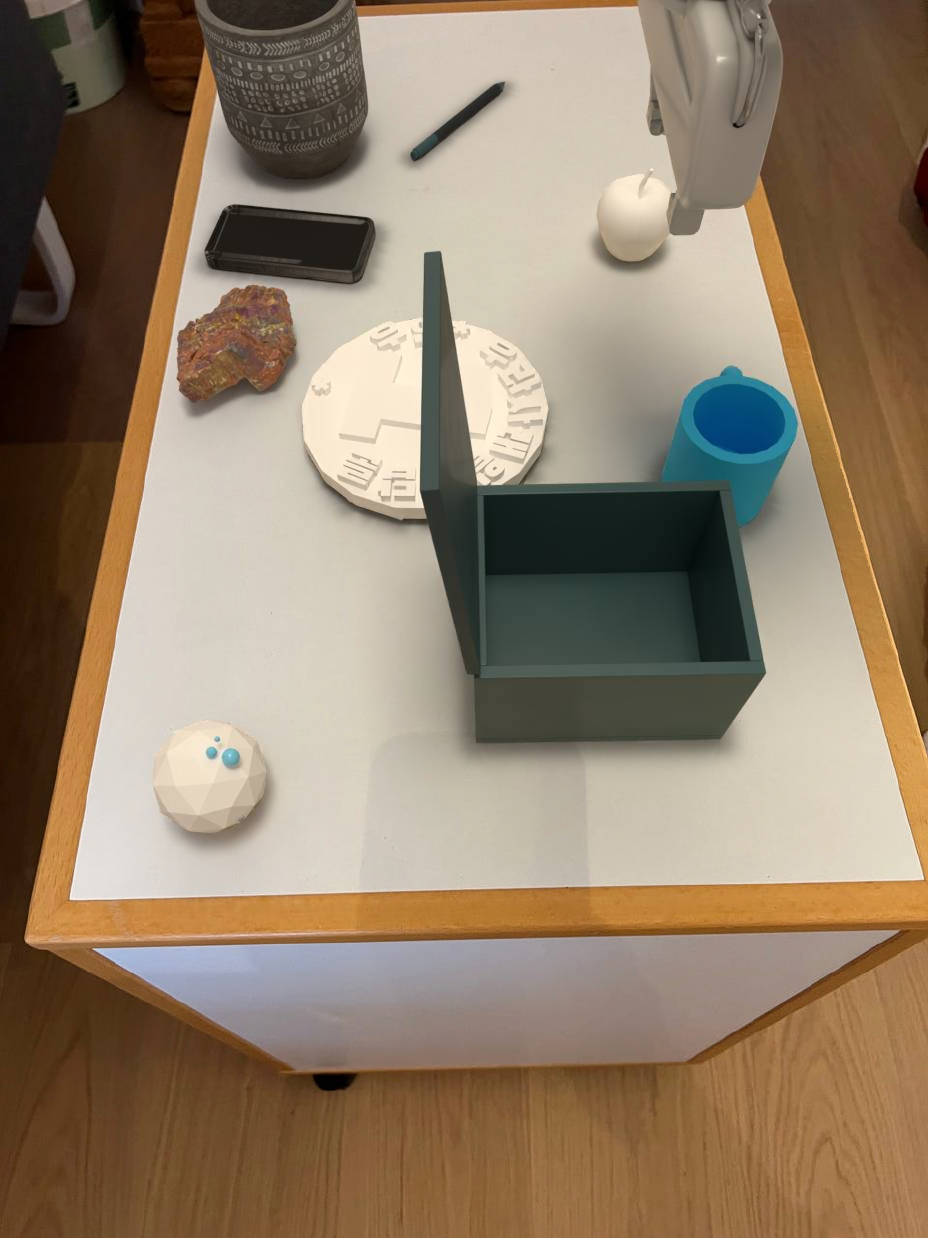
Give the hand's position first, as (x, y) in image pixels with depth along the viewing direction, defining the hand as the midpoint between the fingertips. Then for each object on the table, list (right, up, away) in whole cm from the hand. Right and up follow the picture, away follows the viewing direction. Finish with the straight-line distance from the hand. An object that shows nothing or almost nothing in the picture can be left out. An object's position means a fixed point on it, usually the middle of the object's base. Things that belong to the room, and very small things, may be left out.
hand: (670, 175), depth 54 cm
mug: (+7, -15, +16) cm, 23 cm away
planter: (-29, +21, +36) cm, 51 cm away
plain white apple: (+3, +7, +28) cm, 29 cm away
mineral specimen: (-32, -6, +22) cm, 39 cm away
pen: (-13, +25, +38) cm, 47 cm away
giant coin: (-16, -11, +19) cm, 27 cm away
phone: (-29, +8, +29) cm, 42 cm away
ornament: (-29, -39, +4) cm, 49 cm away
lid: (-13, -21, -9) cm, 26 cm away
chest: (-4, -30, +8) cm, 31 cm away
